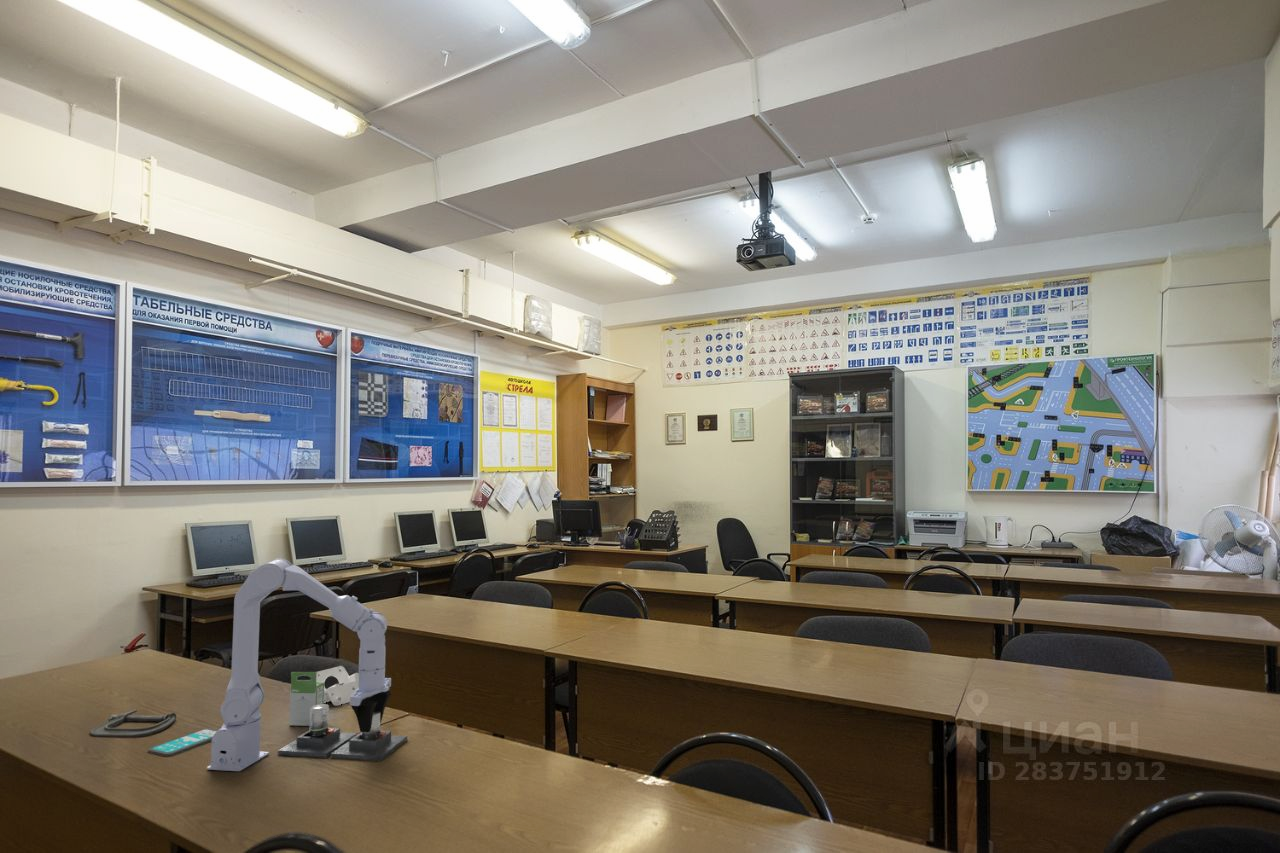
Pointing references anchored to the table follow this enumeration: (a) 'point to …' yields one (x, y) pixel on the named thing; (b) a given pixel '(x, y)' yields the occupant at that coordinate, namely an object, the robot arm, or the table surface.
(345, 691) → the mounting bracket
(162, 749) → the smartphone
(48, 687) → the table surface
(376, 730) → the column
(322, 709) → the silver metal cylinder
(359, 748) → the stand
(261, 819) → the table surface
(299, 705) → the ink box
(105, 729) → the c clamp
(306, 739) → the stand
